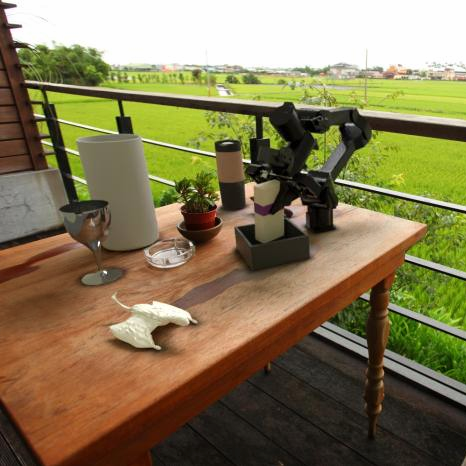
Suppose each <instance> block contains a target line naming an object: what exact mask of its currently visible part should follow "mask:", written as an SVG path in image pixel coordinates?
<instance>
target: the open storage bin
mask: <svg viewBox="0 0 466 466" xmlns="http://www.w3.org/2000/svg"><path fill="white" fill-rule="evenodd" d="M233 227H234V236H235V248H236V250H237V252H238V253H239V254H240V255H241V257H242V258H243V259H244V261H245V262H246V263H247V265H248V266H249V268H250V269H251V271H258V270H263V269H268V268H271V267H276V266H280V265H284V264H289V263H293V262H298V261H303V260H307V259H311V252H310V251H311V249H310V235H309V234H308V233H307V232H306V231H305V230H303V229H302V228H301V227H299V226H298V225H297V224H296V223H295V222H293V221H292V220H291V219H290V218H289V217H284V236H281V237H279V238H277V239H274V240H272V241H270V242H267V243H262V242H260V241H258V240H256V239H255V222H254V223H249V224H242V225H236V226H233Z"/></svg>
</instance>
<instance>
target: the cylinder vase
mask: <svg viewBox="0 0 466 466" xmlns="http://www.w3.org/2000/svg"><path fill="white" fill-rule="evenodd" d="M75 143H76V147H77V151H78V155H79V160H80V163H81V166H82V167H81V168H82V170H83V174H84V178H85V183H86V187H87V191H88V195H89V200H104V201H107V202H108V203H109V206H110V210H111V217H112V226H111V231H110V233H109V235H108V236H107V238H106V239H105V241H104V242H103V244H102V247H103V248H104V249H106V250H109V251H112V252H124V251H125V252H126V251H133V250H138V249H142V248H145V247H148V246H150V245H152V244H154V243H155V242H157V241H158V240H159V238H160V230H159V224H158V219H157V214H156V209H155V203H154V197H153V191H152V187H151V181H150V177H149V171H148V170H149V169H148V165H147V160H146V154H145V150H144V143H143V139H142V136H141V134H134V133H110V134H109V133H108V134H96V135H95V134H94V135H88V136H87V135H86V136H82V137H78V138H76V139H75Z"/></svg>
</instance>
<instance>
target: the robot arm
mask: <svg viewBox="0 0 466 466" xmlns="http://www.w3.org/2000/svg"><path fill="white" fill-rule="evenodd" d="M268 122H269V124H270V125H271V126H272V128H273V129H274V130H275V132H276V133H277V134H278V135H279V137H280V138H281V140H282V141H283V142H286V144H285V145H286V146H281V147H280V148H279V149H278V148H277V149H276V148H274V147H267V146H259V150H258V154H257V158H256V161H257V162H258V163H263V164H265V165H267V168H268V169H269V170H270V171H271V172H270V171H269V170H267V168H266V167H265V166H264V165H261V164H255V163H251V164H248V165H247V166H246V168H245V170H244V174H245V175H246V176H248V177H249V178H250V179H251V180H252V181H253V182H254V183H255V185H258V184H261V183H265V182H268V181H271V180H277V181H280V190H279V192H278V194H277V197H276V199H275V201H274V203H273V205H272V207H271V209H270V214H271V215H274V214H275V213H277V212H278V211H280V210H281V209H282V208H286V207H287V206H286V205H288V204H289V203H291V202H292V203H293V202H294V201H296V200H298V199H299V198H300V203H301V206H303V207H304V206H305V207H306V211H305V224H304V225H305V227H307V228H308V229H309V230H310V231H312V232H313V233H316V234H317V233H321V232H327V231H331V230H336V229H337V226H336V225H334V210H336V209H337V207H338V206H339V201H340V198H339V196H338V194H337V193H336V190H335V189H336V188H335V182H336V180H337V178H338V177H339V176H340V174H341V173H342V171H343V170H344V169H345V167H346V165H347V164H348V162H349V161H350V159H352V156H353V155H354V154H355V152H356V151H358V150H361V149H363V148H365V147H366V146H367V145H368V144H369V142H370V141H371V139H372V137H373V131H372V127H371V125H370V123H369V121H368V119H366V118H365V117H363V115H361V114H360V112H359V109H358V108H357V107H354V106H344V105H343V106H339V107H335V108H329V109H325V108H311V107H310V108H308V107H300V108H298V109H297V108H296V105H295V104H294V102H293V101H284V102H283V104H282V105H279V106H278V107H276V108H275V109H274V110H272V111H270V113H269V116H268ZM337 125H338V128H337V129H338V132H339V133H340V141H339V143H338V144H337V145H336V147H335V148H334V150H333V151H332V152H331V154H330V155H329V157H328V158H327V159H326V161H325V162H324V163H323V165H322V166H321V168H319V170H314V169H310V170H308V171H307V169H308V167H309V166H308V165H307V161H308V159H309V158H310V155H311V153H312V151H319V150H320V145H319V143H318V138H315V137H314V136H313V134H317V135H324V134H325V133H327V132H329V131H330V130H331V127H334V126H337ZM303 170H304V171H307V173H306V172H302V171H303Z"/></svg>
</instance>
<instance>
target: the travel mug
mask: <svg viewBox="0 0 466 466" xmlns="http://www.w3.org/2000/svg"><path fill="white" fill-rule="evenodd" d="M213 143H214V151H215V152H214V153H215V154H214V155H215V163H216V171H217V172H216V173H217V180H218V182H217V183H218V188H219V194H220V200H221V201H220V202H221V207H222V209H223V210H227V211H236V210H237V211H238V210H242V209H244V208H246V207H247V202H246V201H247V200H246V198H247V197H246V184H245V183H246V182H245V173H244V172H245V170H244V162H243V151H242V142H241V141H240V140H237V139H221V140H216V141H214V142H213Z"/></svg>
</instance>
